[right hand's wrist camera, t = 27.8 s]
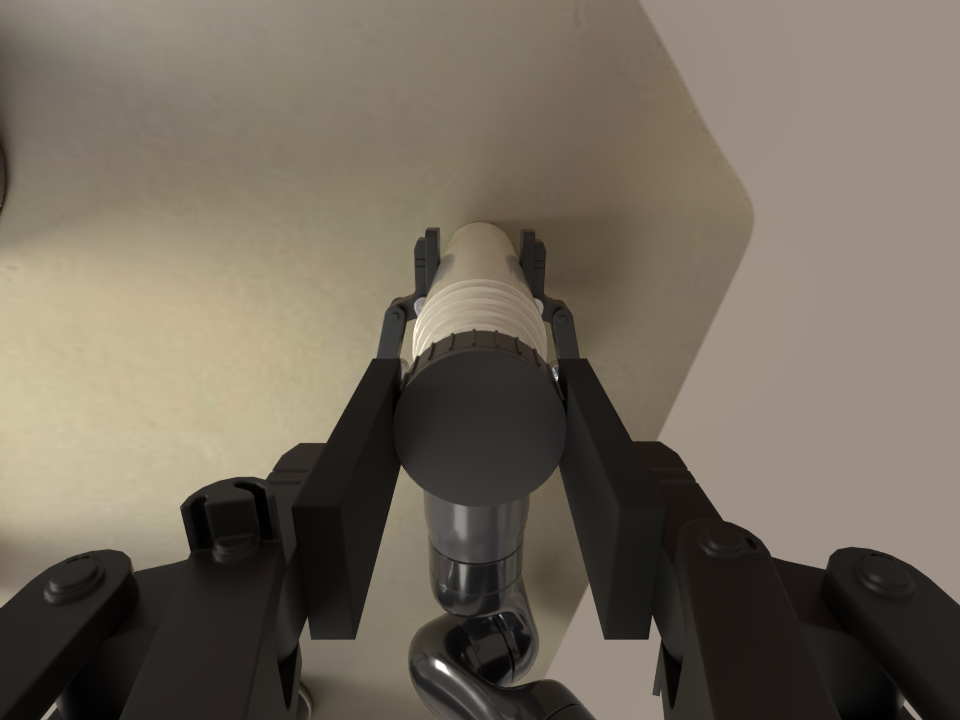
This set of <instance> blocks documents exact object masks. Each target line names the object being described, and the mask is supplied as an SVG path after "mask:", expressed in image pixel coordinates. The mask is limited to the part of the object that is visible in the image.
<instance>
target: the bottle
mask: <svg viewBox="0 0 960 720" xmlns="http://www.w3.org/2000/svg"><path fill="white" fill-rule="evenodd" d="M473 329H476V330H486V331H494V332H495V330H498V332H499V333H503V334H507V335H509V336H512V337H514V338H516V336H517V337H519V340H520V341H522V342H524V343H526V344H527V345H528V346H530V347H531V348H532V349H534V348H536V349H537V352H538V354H539V355H540V356H541V357H542V358H543V360H544V361H545V362H546V359H547V335H546V330H545V325H544V322H543V320H542V317H541V315H540V312H539V310H538V307H537V305H536V302H535V300H534V297H533V295H532V292H531V290H530V288H529V285H528V283H527V280H526V278H525V275H524V273H523V270H522V268H521V265H520V263H519V260H518V258H517V256H516V253H515V251H514V248H513V246H512V243H511V241H510V239H509V238H508V236H507V235H506V234H505V233H504V232H503V231H502V230H501V229H500V228H498V227H497V226H495V225H493V224H490V223H485V222H474V223H470V224H467V225H465V226H463V227H461V228H460V229H459V230H457V231H456V232H455V233H454V234H453V236H452V237H451V239H450V240H449V242H448V245H447V247H446V250H445V252H444V255H443V257H442V260H441V262H440V265H439V267H438V270H437V272H436V274H435V277H434V279H433V282H432V284H431V287H430V289H429V292H428V294H427V297H426V299H425V302H424V304H423V307H422V309H421V311H420V314H419V316H418V319H417V321H416V324H415V328H414V332H413V347H412V348H413V360H415V357H416V356H417V355H418V356H420V355H421V354H422V353H423V352H424V351H425V350H426V349H427V348H429V347H430V346H431V343H432V342H434V343H436V342H438V341H439V340H441V339H443V338H446V337H448V336H450V335H451V333H454V334H457V333H461V332H466V331H472V330H473Z"/></svg>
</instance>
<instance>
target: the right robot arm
mask: <svg viewBox="0 0 960 720" xmlns="http://www.w3.org/2000/svg"><path fill="white" fill-rule="evenodd" d="M4 188H5V169H4V160H3V155H2V150H1V146H0V207H1V205H2V200H3V196H4ZM401 382H402V371H401V359H372V361H371V363H370V365H369V367H368V368H367V370H366V372H365V374H364V376H363V378H362V379H361V381H360V383H359V385H358V387H357V388H356V390H355V392H354V394H353V396H352V397H351V399H350V401H349V403H348V405H347V407H346V408H345V410H344V412H343V414H342V416H341V417H340V419H339V421H338V423H337V425H336V426H335V428H334V430H333V432H332V434H331V436H330V437H329V439H328V441H327V443H299V444H298V445H297V446H295V447H294V448H292V449H291V450H289V451H288V452H286V453H285V454H284V455H282V457H281V458H280V459H279V461H278V462H277V464H276V465H275V467H274V468H273V471H272V473H270V474H269V476H268V477H267V479H266V480H264V479H260V478H256V477H235V478H230V479H226V480H221V481H218V482H215V483H213V484H210V485H208V486H205V487H203V488H201V489H200V490H198V491H197V492H195V493H194V494H192V495H191V496H189V497H188V498H187V499H186V501H185V502H184V503H183V504H182V505H181V506H180V509H181V514H182V518H183V522H184V526H185V530H186V534H187V538H188V542H189V546H190V551H191V553H190V556H189V558H188V559H187V560H184V561H180V562H177V563H173V564H168V565H164V566H159V567H155V568H150V569H145V570H141V571H136V572H134V569H133V566H132V562H131V559H130V558H129V557H128V556H127V555H126V554H125V553H123V552H121V551H115V550H110V549H107V550H98V551H90V552H86V553H82V554H80V555H76V556H73V557H70V558H68V559H66V560H64V561H62V562H60V563H58V564H56V565H54V566H52V567H50V568H48V569H47V570H45V571H44V572H42V573H41V574H40V575H38V576H37V577H36V578H34V579H33V580H31V581H30V582H29V583H28V584H27V585H26V586H25V587H24V588H23V589H21V590H20V591H19V592H18V593H17V594H16V595H15V596H14V597H13V598H11V599H10V600H9V601H8V602H7V603H6V604H5V605H4V606H3V607H1V608H0V720H40V719H41V718H42V717H43V716H44V715H45V713H46V712H47V711H48V710H49V708H50V707H51V706H52V705H53V703H54V702H55V703H56V705H57V708H56V709H55V711H54V712H53V713H52V714H51V716H50V717H49V718H48V719H47V720H296V711H297V702H298V693H299V684H300V675H301V666H302V658H301V651H300V644H299V637H300V635H301V632H302V630H303V627H304V624H305V622H306V619H307V616H308V622H309V628H310V635H311V640H355V638H356V634H357V631H358V627H359V623H360V619H361V615H362V612H363V608H364V604H365V600H366V596H367V592H368V589H369V585H370V581H371V577H372V573H373V570H374V566H375V562H376V558H377V554H378V551H379V547H380V543H381V539H382V535H383V531H384V528H385V524H386V520H387V516H388V512H389V509H390V505H391V501H392V497H393V493H394V490H395V486H396V482H397V478H398V474H399V470H400V467H401V463H400V461H399V459H398V457H397V454H396V451H395V446H394V432H393V413H394V409H395V406H396V403H397V400H398V397H399V394H400V393H399V392H398V391H399V388H400V385H401ZM558 383H559V386H560V388H561V391H562V394H563V397H564V399H565V402H563V404H564V407H565V411H566V415H567V426H566V442H565V450H564V453H563V456H562V458H561V460H560V462H559V468H560V472H561V476H562V479H563V483H564V487H565V491H566V495H567V498H568V502H569V506H570V510H571V514H572V518H573V521H574V525H575V529H576V533H577V537H578V540H579V544H580V548H581V552H582V556H583V559H584V563H585V567H586V571H587V575H588V579H589V582H590V586H591V590H592V594H593V597H594V601H595V605H596V609H597V613H598V617H599V620H600V624H601V628H602V632H603V636H604V639H605V640H648V639H649V632H650V626H651V620H652V615H653V617H654V620H655V623H656V625H657V628H658V630H659V633H660V636H661V644H660V651H659V657H658V663H657V669H656V675H655V681H654V688H653V695H656V696H660V691H661V692H662V701H663V710H664V719H665V720H916V719H915V718H914V717H913V716H912V715H911V714H910V713H909V712H908V710H907V709H906V708H905V707H904V705H903V704H904V701H905V699H906V700H907V701H908V703H909V704H910V705H911V706H912V707H913V709H914V710H915V711H916V712H917V714H918V715H919V716H920V717H921V718H922V720H960V605H959V604H958V603H956V602H955V601H954V600H953V599H952V598H951V597H950V596H949V595H947V594H946V593H945V592H944V591H943V590H942V589H941V588H940V587H938V586H937V585H936V584H935V583H934V582H933V581H932V580H931V579H930V578H928V577H927V576H925V575H924V574H923V573H921V572H920V571H919V570H917V569H916V568H914V567H913V566H912V565H910V564H908V563H906V562H904V561H901V560H899V559H897V558H895V557H894V556H891V555H889V554H886V553H883V552H879V551H875V550H872V549H866V548H857V547H848V548H843V549H838V550H836V551H835V552H834V553H833V554H832V555H831V556H830V557H829V561H828V564H827V568H826V570H825V569H820V568H816V567H811V566H806V565H802V564H797V563H793V562H788V561H784V560H781V559H777V558H773V557H771V555H770V552H769V551H768V549H767V548H766V547H765V545H764V544H763V542H762V541H761V540H760V539H759V538H757V537H756V536H755V535H753V534H752V533H751V532H749V531H748V530H746V529H744V528H742V527H740V526H737V525H735V524H733V523H730V522H726V521H723V519H722V518H721V516H720V515H719V513H718V512H717V510H716V509H715V508H714V506H713V505H712V503H711V502H710V500H709V499H708V497H707V496H706V494H705V493H704V491H703V490H702V489H701V487H700V486H699V484H698V483H696V481H695V478H694V477H693V475H692V474H691V473H690V471H688V470H687V467H686V465H685V464H684V462H683V461H682V459H681V458H680V456H679V455H678V454H677V453H676V452H674V451H673V450H671V449H670V448H669V447H667V446H666V445H664V444H663V443H661V442H659V441H632V440H631V438H630V436H629V434H628V433H627V431H626V429H625V427H624V425H623V424H622V422H621V420H620V418H619V416H618V414H617V413H616V411H615V409H614V407H613V405H612V404H611V402H610V400H609V398H608V396H607V395H606V393H605V391H604V389H603V387H602V385H601V384H600V382H599V380H598V378H597V376H596V375H595V373H594V371H593V369H592V367H591V365H590V364H589V362H588V360H587V359H559V365H558Z"/></svg>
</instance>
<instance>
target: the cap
mask: <svg viewBox="0 0 960 720" xmlns="http://www.w3.org/2000/svg"><path fill="white" fill-rule="evenodd" d="M398 392H399V393H400V394H399V397H398V400H397V403H396V406H395V409H394V413H393V432H394V446H395V451H396V454H397V457H398V459H399V461H400V463H401V464H402V466H403V468H404V469H405V471H406V472H407V473H408V475H409V476H410V477H411V478H412V479H413V480H414V481H415V482H416V483H417V484H418V485H419V486H420V487H422V488H423V489H424V490H426V491H427V492H429V493H430V494H432V495H433V496H436V497H438V498H440V499H442V500H444V501H447V502H450V503H453V504H457V505H462V506H469V507H491V506H498V505H502V504H507V503H510V502H513V501H515V500H518V499H520V498H522V497H524V496H526V495H528V494H529V493H531V492H533V491H534V490H536V489H537V488H538V487H539V486H541V485H542V484H543V483H544V482H545V481H546V480H547V479H548V478H549V477H550V476H551V474H552V473H553V472H554V470H555V469H556V467H557V466H558V464H559V462H560V460H561V458H562V456H563V453H564V450H565V442H566V426H567V415H566V411H565V407H564V404H563V402H565V399H564V397H563V394H562V391H561V388H560V386H559V383H558V381H556V380H555V377H554V374H553V372H552V369H551V366H550V364H549V363H548V364H546V362H545V361H544V360H543V358H542V357H541V356H540V355H539V354H538V352H537V349H536V348H534V349H532V348H531V347H530V346H528V345H527V344H526V343H524V342H522V341H520V340H519V337H517V336H516V338H514V337H512V336H509V335H507V334H503V333H499V332H498V330H495V332H494V331H486V330H476V329H473V330H472V331H466V332H461V333H457V334H454V333H451V335H450V336H448V337H446V338H443V339H441V340H439V341H438V342H436V343H434V342H432V343H431V346H430V347H429V348H427V349H426V350H425V351H424V352H423V353H422V354H421V355H420V356H418V355H417V356H416V357H415V360H414V363H413V364H412V366H411V368H410V369H409V371H408V373H407V372H405V374H404V377H403V380H402V382H401V385H400V388H399V391H398Z"/></svg>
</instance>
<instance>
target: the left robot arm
mask: <svg viewBox="0 0 960 720" xmlns="http://www.w3.org/2000/svg"><path fill="white" fill-rule="evenodd" d="M414 257H415V288H416V289H415V292H414V293H413V294H412V295H409V296H406V297H404V298H402V297H398V298H396V299H394V300H393V301H392V303H391V305H390V307H389V308H388V309H387V311H386V313H385V317H384V322H383V327H382V332H381V338H380V343H379V348H378V353H377V358H376V359H401V371H402V380H403V377H404V374H405V372H407V373H408V371H409V364H408V362H407V361H406V360H404V359H402V358H399V357H400V353H401V348H402V343H403V338H404V334H405V329H406V324H407V321H410V320H412V319H415V318H418V316H419V314H420V311H421V309H422V307H423V304H424V302H425V299H426V297H427V294H428V292H429V289H430V287H431V284H432V282H433V279H434V277H435V274H436V272H437V270H438V267H439V265H440V228H427V229H426V232H425V237H420V238H419V239H418V240H417V243H416V246H415V249H414ZM545 259H546V250H545V247H544V244H543V242H542V241H541V239H535V231H534V230H533V229H521V236H520V260H519V263H520V265H521V268H522V270H523V273H524V275H525V278H526V280H527V283H528V285H529V288H530V290H531V292H532V295H533V297H534V300H535V302H536V305H537V307H538V310H539V312H540V315H541V317H542V320H544V321H546V322H549V323H550V324H551V329H552V335H553V340H554V346H555V351H556V356H557V360H554V361H552V362H550V363H549V364H550V366H551V369H552V372H553V374H554V377H555V380H556V381H558V365H559V359H580V357H579V352H578V346H577V340H576V334H575V328H574V322H573V316H572V314H571V312H570V311H569V309H568V307H567V306H566V304H565V303H564V302H563V301H561V300H555V299H552V298H550V297H547V296H546V295H545V294H544V276H545ZM529 497H530V493H529V494H528V495H526V496H524V497H522V498H520V499H518V500H515V501H513V502H510V503H507V504H502V505H498V506H491V507H469V506H462V505H457V504H453V503H450V502H447V501H444V500H442V499H440V498H438V497H436V496H433V495H432V494H430V493H429V492H427V491H426V490H424V508H425V516H426V521H427V526H428V534H429V535H428V537H429V570H430V583H431V589H432V592H433V595H434V597H435V599H436V601H437V602H438V604H439V605H440V606H441V607H442V608H443V609H444V610H446V611H447V613H445V614H443V615H441V616H439V617H437V618H435V619H433V620H432V621H430V622H428V623H426V624H425V625H424V626H422V627H421V628H420V629H419V630H418V631H417V632H416V633H415V635H414V637H413V639H412V641H411V644H410V647H409V652H408V667H409V673H410V677H411V680H412V683H413V686H414V688H415V690H416V692H417V694H418V695H419V697H420V699H421V700H422V702H423V703H424V704H425V705H426V707H427V708H428V709H429V710H430V711H431V712H432V713H433V714H434V715H435V716H436V717H437V718H438V719H439V720H596V719H595V718H594V717H593V715H592V714H591V713H590V712H589V711H588V710H587V709H586V708H585V707H584V705H583V704H582V703H581V702H580V701H579V700H578V699H577V697H576V696H575V695H574V694H573V693H572V692H571V691H570V690H569V689H568V688H567V687H566V686H564V685H563V684H562V683H560V682H558V681H556V680H552V679H544V680H538V681H534V682H530V683H527V684H523V685H520V686H515V687H509V686H511V685H512V684H514V683H515V682H517V681H518V680H520V679H521V678H523V677H524V676H525V675H526V674H527V673H528V672H529V670H530V669H531V668H532V666H533V664H534V662H535V659H536V657H537V654H538V650H539V636H538V631H537V628H536V624H535V621H534V618H533V615H532V612H531V609H530V605H529V601H528V597H527V592H526V588H525V584H524V580H523V576H522V562H523V544H524V530H525V525H526V521H527V516H528V510H529ZM312 709H313V705H312V700H311V698H310V695H309V694H308V692H307V691H306V690H305V688H304V687H303V686H302V685H301V684H299V693H298V702H297V711H296V720H310V717H311V714H312Z"/></svg>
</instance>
